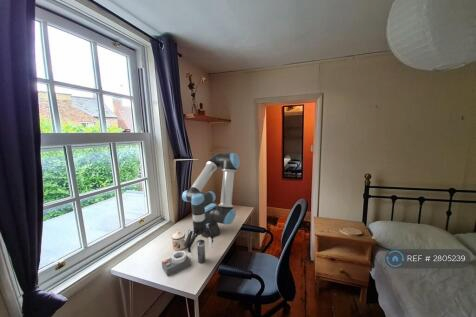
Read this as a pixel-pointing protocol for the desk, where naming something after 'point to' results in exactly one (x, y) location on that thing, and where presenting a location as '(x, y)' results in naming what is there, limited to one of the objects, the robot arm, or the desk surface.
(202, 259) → the grey flashlight
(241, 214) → the desk surface
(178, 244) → the teacup with lid
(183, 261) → the camera body
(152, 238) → the desk surface
